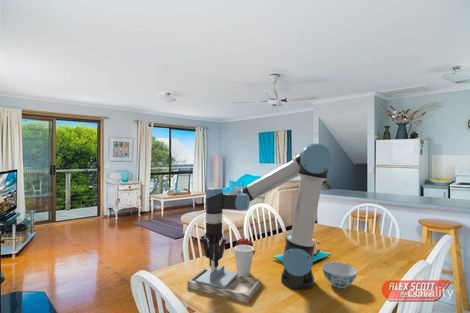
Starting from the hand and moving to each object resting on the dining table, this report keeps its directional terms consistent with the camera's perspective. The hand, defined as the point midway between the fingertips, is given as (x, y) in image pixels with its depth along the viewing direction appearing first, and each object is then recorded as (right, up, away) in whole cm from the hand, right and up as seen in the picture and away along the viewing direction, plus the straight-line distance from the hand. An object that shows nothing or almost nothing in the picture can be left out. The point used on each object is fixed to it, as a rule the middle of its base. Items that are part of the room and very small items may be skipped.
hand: (213, 273), depth 124 cm
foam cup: (+14, -6, +12) cm, 19 cm away
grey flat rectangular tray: (+5, -5, -2) cm, 7 cm away
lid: (+2, -2, 0) cm, 2 cm away
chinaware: (+57, -6, +1) cm, 58 cm away
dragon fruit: (+15, -5, +45) cm, 48 cm away
